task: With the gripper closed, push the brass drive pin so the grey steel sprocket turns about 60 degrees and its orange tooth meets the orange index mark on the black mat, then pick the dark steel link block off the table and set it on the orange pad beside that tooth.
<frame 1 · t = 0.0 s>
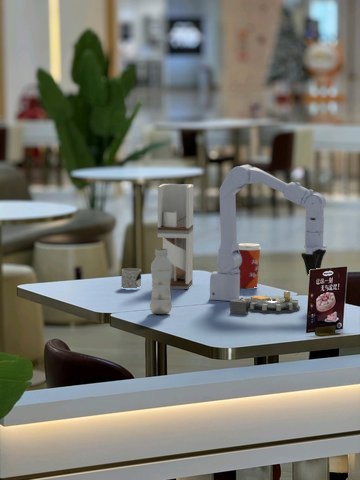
hand: (313, 273, 392), 10 cm above the table, fingers open, 7 cm apart
link block: (239, 313, 378), on the table
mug: (131, 288, 421), on the table
plastic bottle: (160, 314, 376), on the table
sprocket mat: (271, 308, 387), on the table
coffee cup: (248, 288, 424), on the table
display case: (175, 287, 425), on the table
sprocket: (271, 298, 387), point 3 cm above the table, hinge at 0.0°
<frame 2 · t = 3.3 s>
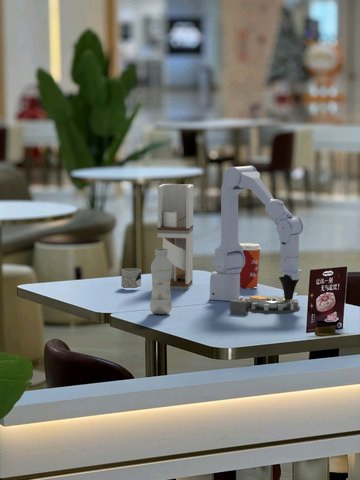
hand: (288, 299, 384), 3 cm above the table, fingers closed
sprocket: (271, 298, 387), point 3 cm above the table, hinge at 4.0°, touching gripper
everything else where it was.
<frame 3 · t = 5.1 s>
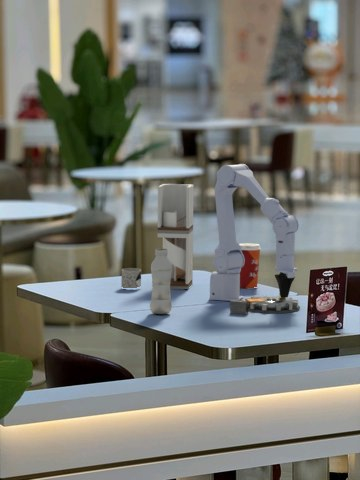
hand: (284, 297, 388), 3 cm above the table, fingers closed
sprocket: (271, 298, 387), point 3 cm above the table, hinge at 59.8°, touching gripper
everything else where it was.
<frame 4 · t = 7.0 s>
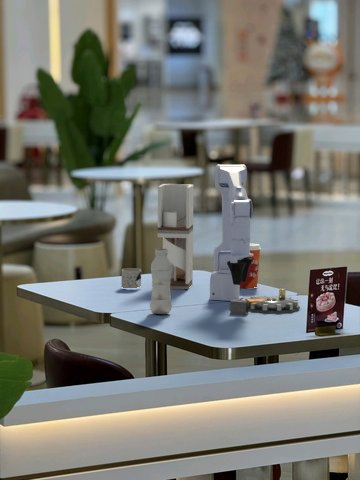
hand: (239, 283, 377), 9 cm above the table, fingers open, 5 cm apart
sprocket: (271, 298, 387), point 3 cm above the table, hinge at 61.3°
everything else where it was.
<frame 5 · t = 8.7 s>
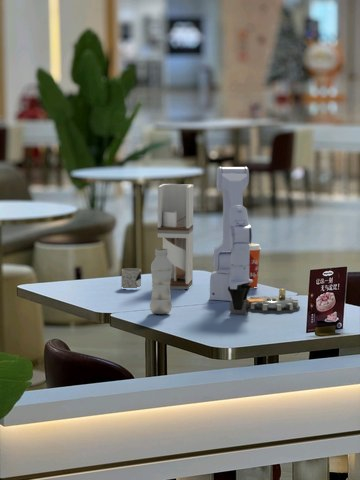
hand: (239, 308, 378), 1 cm above the table, fingers closed on link block, 3 cm apart
link block: (239, 313, 378), on the table, touching gripper
everything else where it was.
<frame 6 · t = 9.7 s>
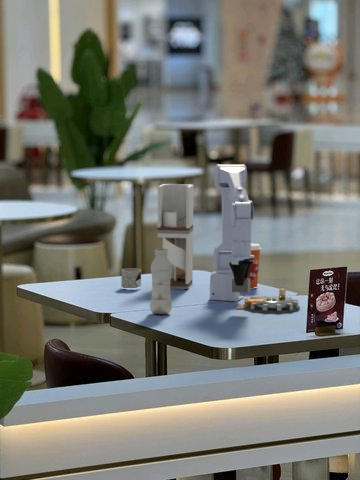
hand: (240, 284, 378), 9 cm above the table, fingers closed on link block, 3 cm apart
link block: (241, 291, 378), point 7 cm above the table, touching gripper
everything else where it was.
when the fingers open (6 cm above the table, at t = 11.1 s): link block stays where it is, resting on sprocket.
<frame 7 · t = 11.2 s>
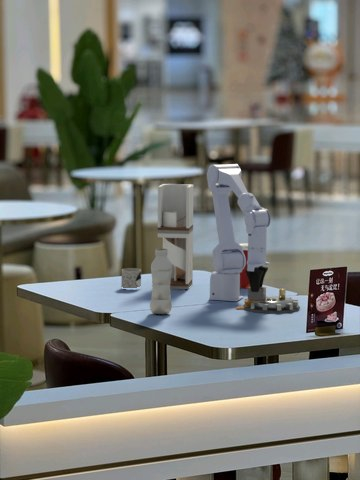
hand: (256, 290, 385), 6 cm above the table, fingers open, 3 cm apart
link block: (256, 300, 386), point 3 cm above the table, touching sprocket
sprocket: (271, 298, 387), point 3 cm above the table, hinge at 61.2°, touching link block
everything else where it was.
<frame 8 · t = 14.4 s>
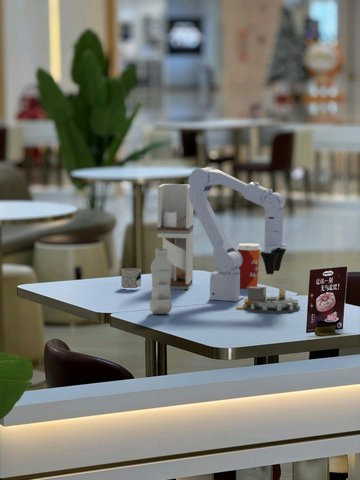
hand: (272, 272, 395), 10 cm above the table, fingers open, 7 cm apart
nothing on the table moved.
at the end: sprocket at +61° (first picture: +0°); link block 0.2 cm from the target spot, point 2.7 cm above the table; link block tilted 0° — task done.
